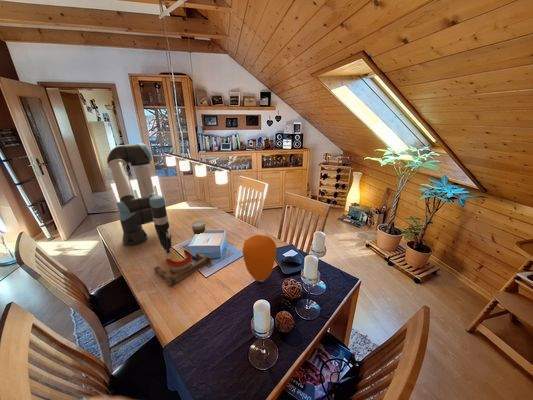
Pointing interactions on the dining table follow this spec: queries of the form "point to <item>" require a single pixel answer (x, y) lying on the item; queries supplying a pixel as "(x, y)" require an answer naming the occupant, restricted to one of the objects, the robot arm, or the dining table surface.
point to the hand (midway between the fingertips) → (168, 256)
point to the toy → (180, 263)
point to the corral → (185, 273)
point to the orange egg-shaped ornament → (259, 256)
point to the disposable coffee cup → (198, 227)
